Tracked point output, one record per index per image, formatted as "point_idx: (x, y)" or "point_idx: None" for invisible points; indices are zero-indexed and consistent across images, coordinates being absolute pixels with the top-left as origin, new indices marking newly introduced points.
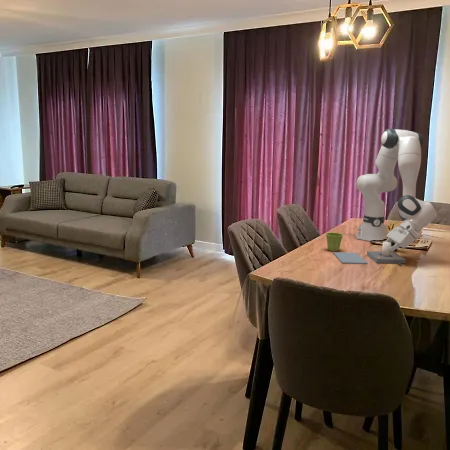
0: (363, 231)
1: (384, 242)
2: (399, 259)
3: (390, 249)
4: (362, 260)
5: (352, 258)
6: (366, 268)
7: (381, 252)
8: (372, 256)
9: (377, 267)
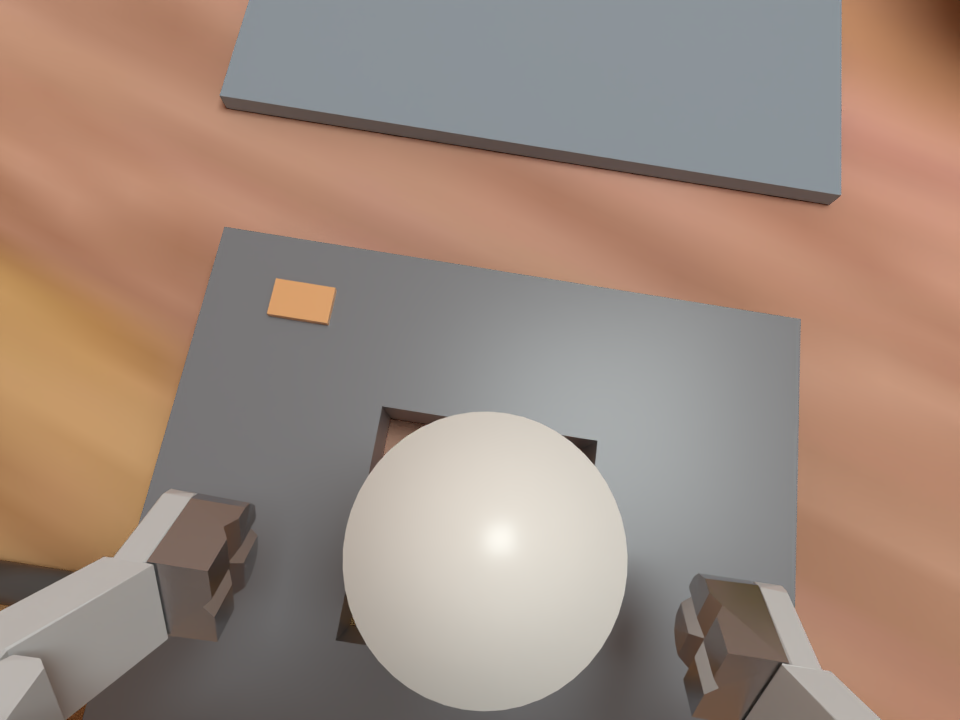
0: None
1: (511, 470)
2: None
3: (169, 497)
4: (357, 83)
5: (487, 4)
6: (17, 2)
7: (711, 560)
8: (473, 273)
9: (21, 160)
